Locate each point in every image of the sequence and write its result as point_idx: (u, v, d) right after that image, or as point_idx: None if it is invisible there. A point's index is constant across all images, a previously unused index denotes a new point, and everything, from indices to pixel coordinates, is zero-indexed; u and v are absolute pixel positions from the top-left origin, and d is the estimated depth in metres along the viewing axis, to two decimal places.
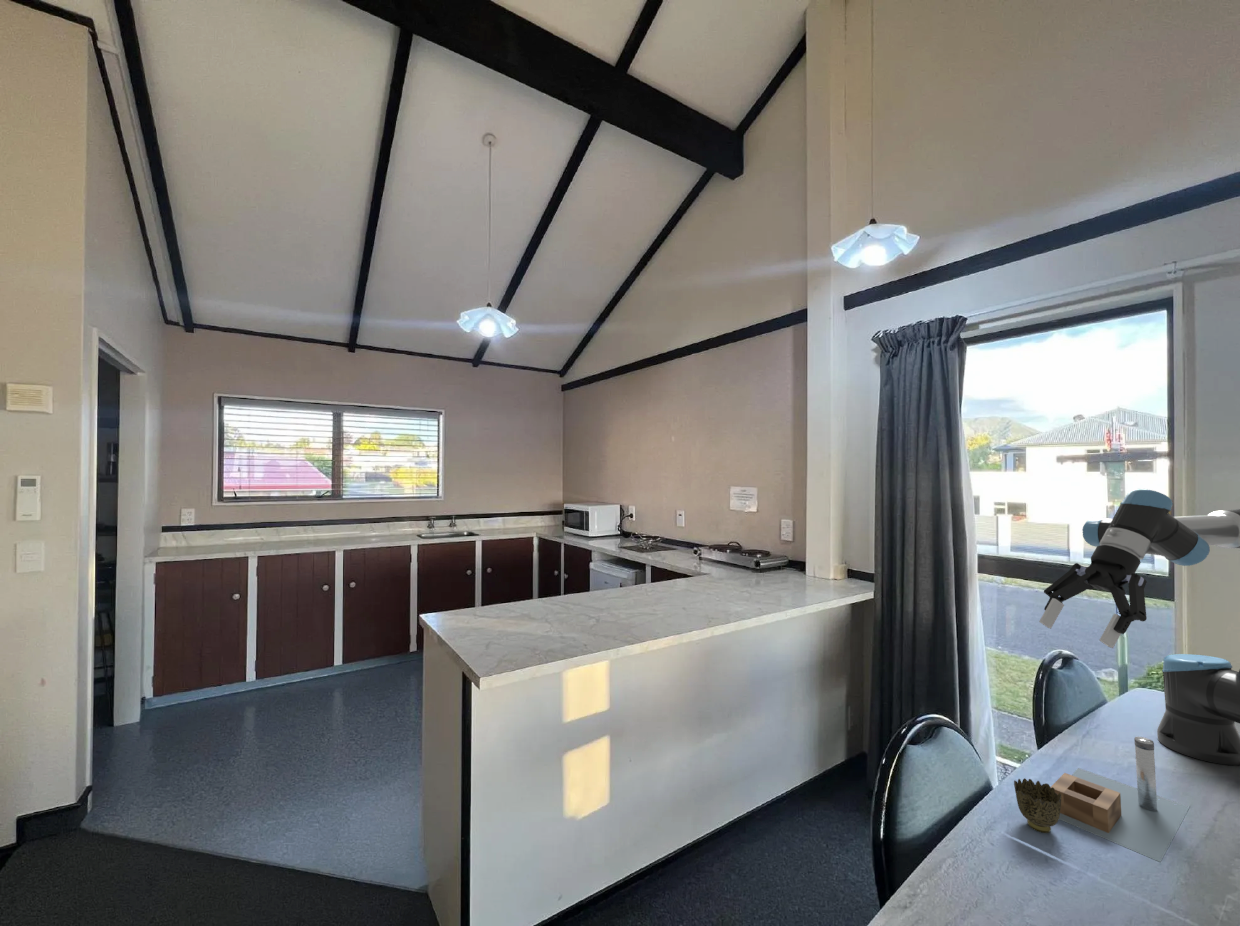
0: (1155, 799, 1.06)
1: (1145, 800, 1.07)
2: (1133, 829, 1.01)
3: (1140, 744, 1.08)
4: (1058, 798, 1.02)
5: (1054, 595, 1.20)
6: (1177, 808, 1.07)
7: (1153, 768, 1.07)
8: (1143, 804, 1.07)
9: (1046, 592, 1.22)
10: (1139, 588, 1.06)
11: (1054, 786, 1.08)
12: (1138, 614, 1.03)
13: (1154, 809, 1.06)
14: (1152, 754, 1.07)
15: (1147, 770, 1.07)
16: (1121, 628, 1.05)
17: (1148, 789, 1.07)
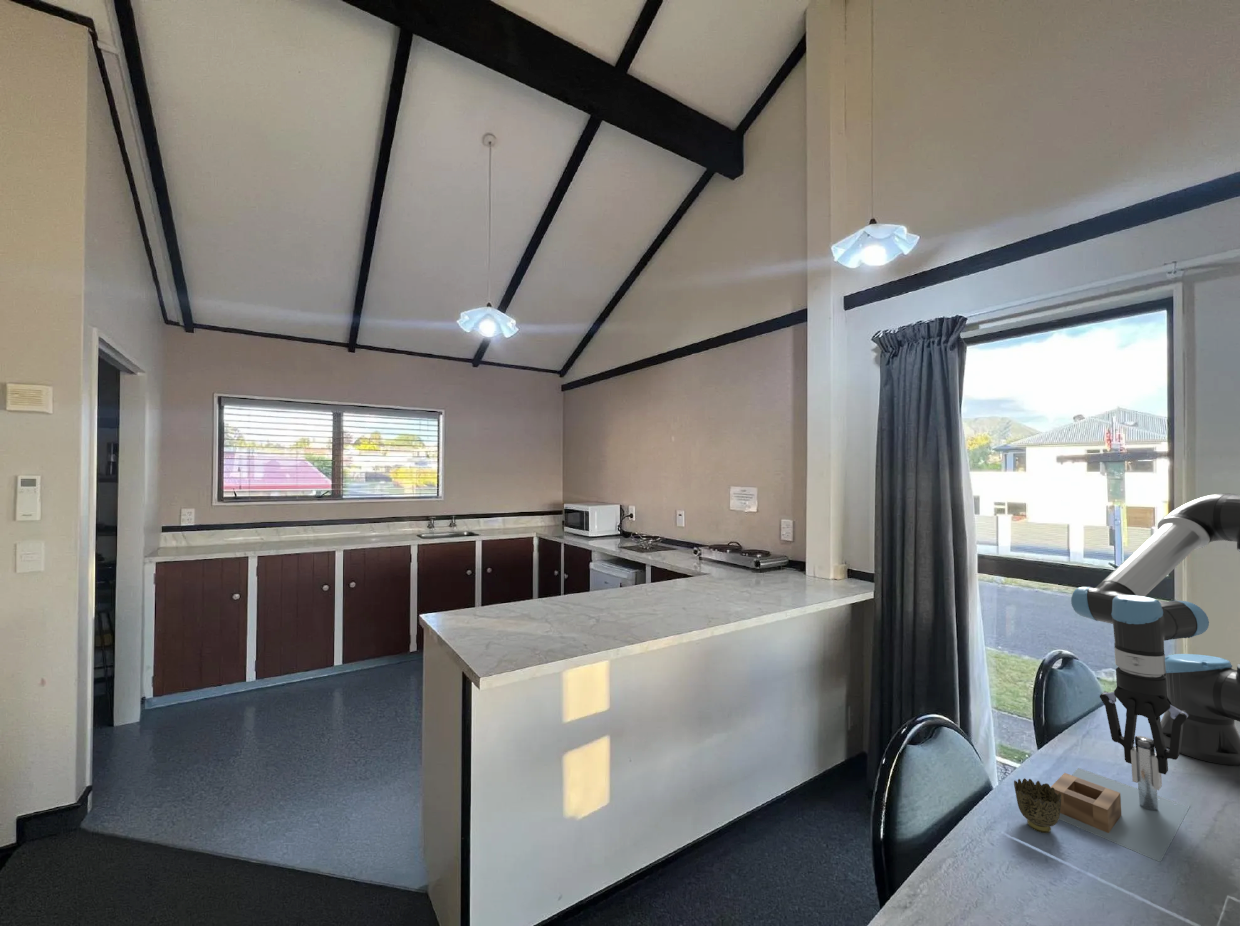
0: (1156, 798, 1.07)
1: (1146, 799, 1.07)
2: (1133, 829, 1.01)
3: (1141, 743, 1.08)
4: (1058, 798, 1.02)
5: (1129, 744, 1.09)
6: (1177, 808, 1.07)
7: None
8: (1143, 803, 1.07)
9: (1117, 740, 1.11)
10: (1181, 726, 1.04)
11: (1054, 786, 1.08)
12: None
13: (1155, 808, 1.06)
14: (1153, 753, 1.07)
15: (1148, 769, 1.07)
16: (1166, 771, 1.05)
17: (1149, 788, 1.07)
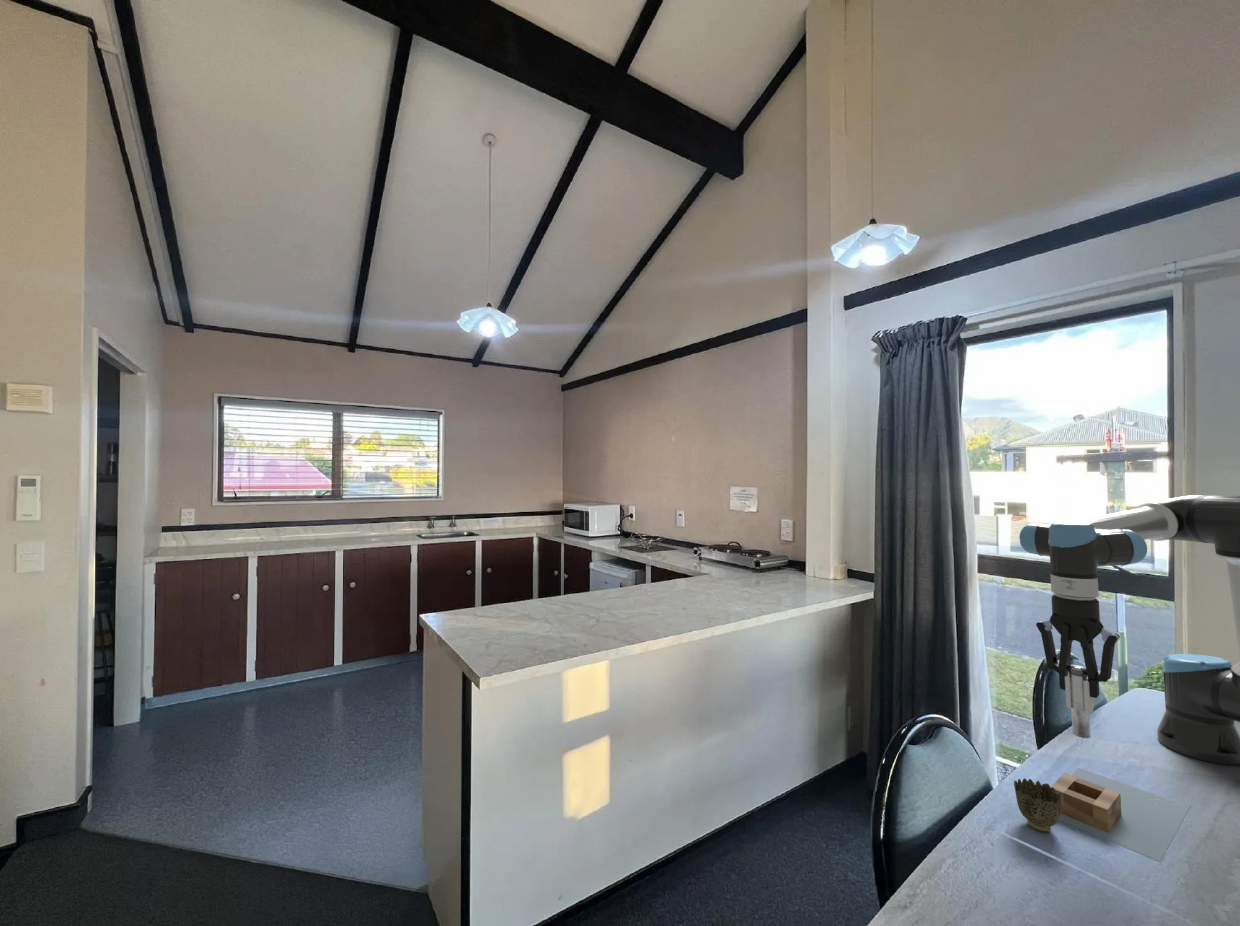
0: (1088, 726, 1.06)
1: (1079, 727, 1.06)
2: (1133, 829, 1.01)
3: (1073, 671, 1.07)
4: (1058, 798, 1.02)
5: (1063, 670, 1.09)
6: (1177, 808, 1.07)
7: None
8: (1076, 731, 1.07)
9: (1052, 667, 1.10)
10: (1112, 648, 1.03)
11: (1054, 786, 1.08)
12: (1107, 680, 1.03)
13: (1087, 736, 1.06)
14: None
15: (1080, 697, 1.06)
16: (1097, 694, 1.05)
17: (1081, 716, 1.06)
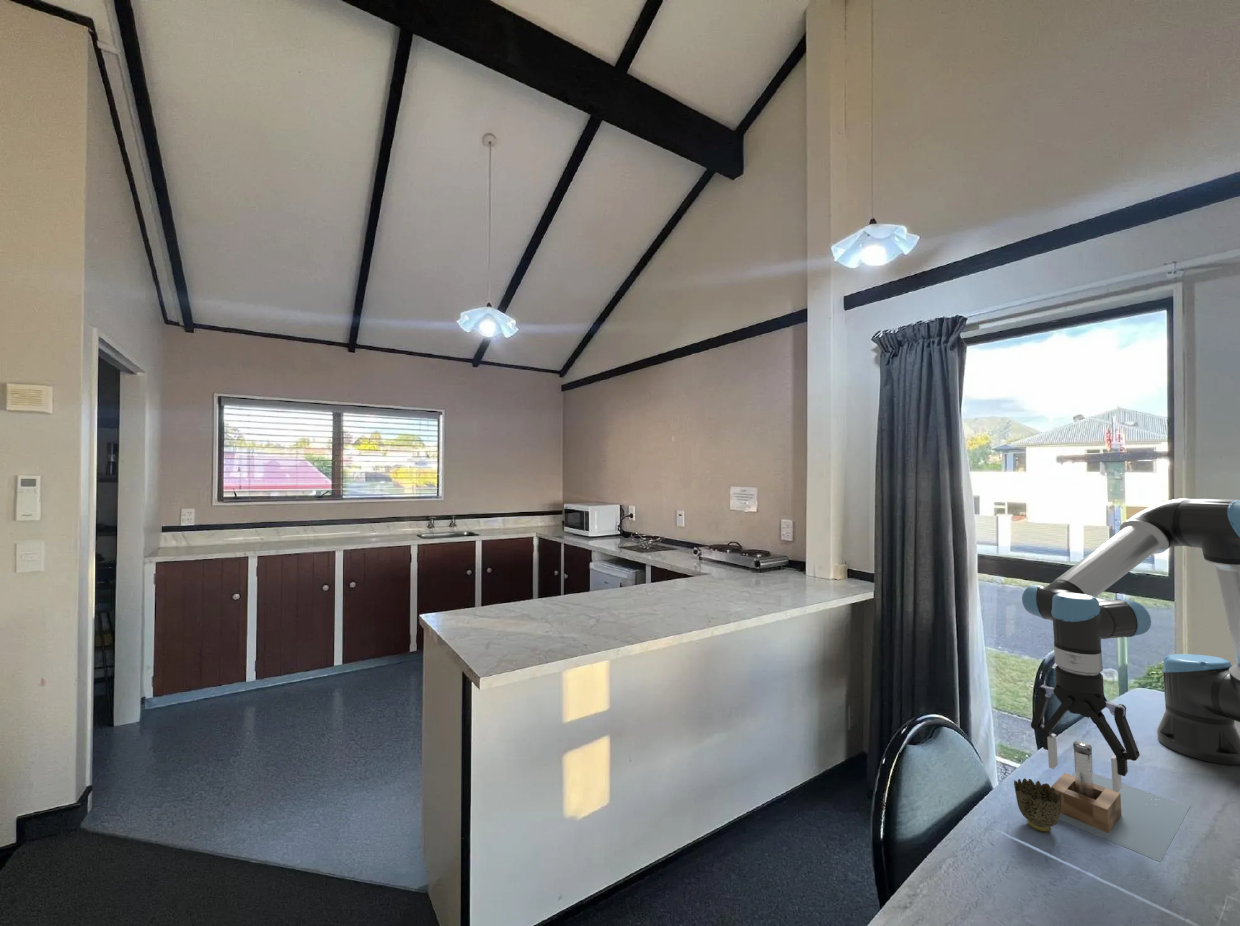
0: None
1: None
2: (1133, 829, 1.01)
3: (1078, 749, 1.07)
4: (1058, 798, 1.02)
5: (1047, 732, 1.11)
6: (1177, 808, 1.07)
7: (1091, 773, 1.06)
8: None
9: (1035, 728, 1.13)
10: (1125, 721, 1.02)
11: (1054, 786, 1.08)
12: (1136, 758, 1.00)
13: None
14: (1090, 759, 1.06)
15: (1085, 775, 1.06)
16: (1126, 772, 1.01)
17: (1086, 794, 1.06)
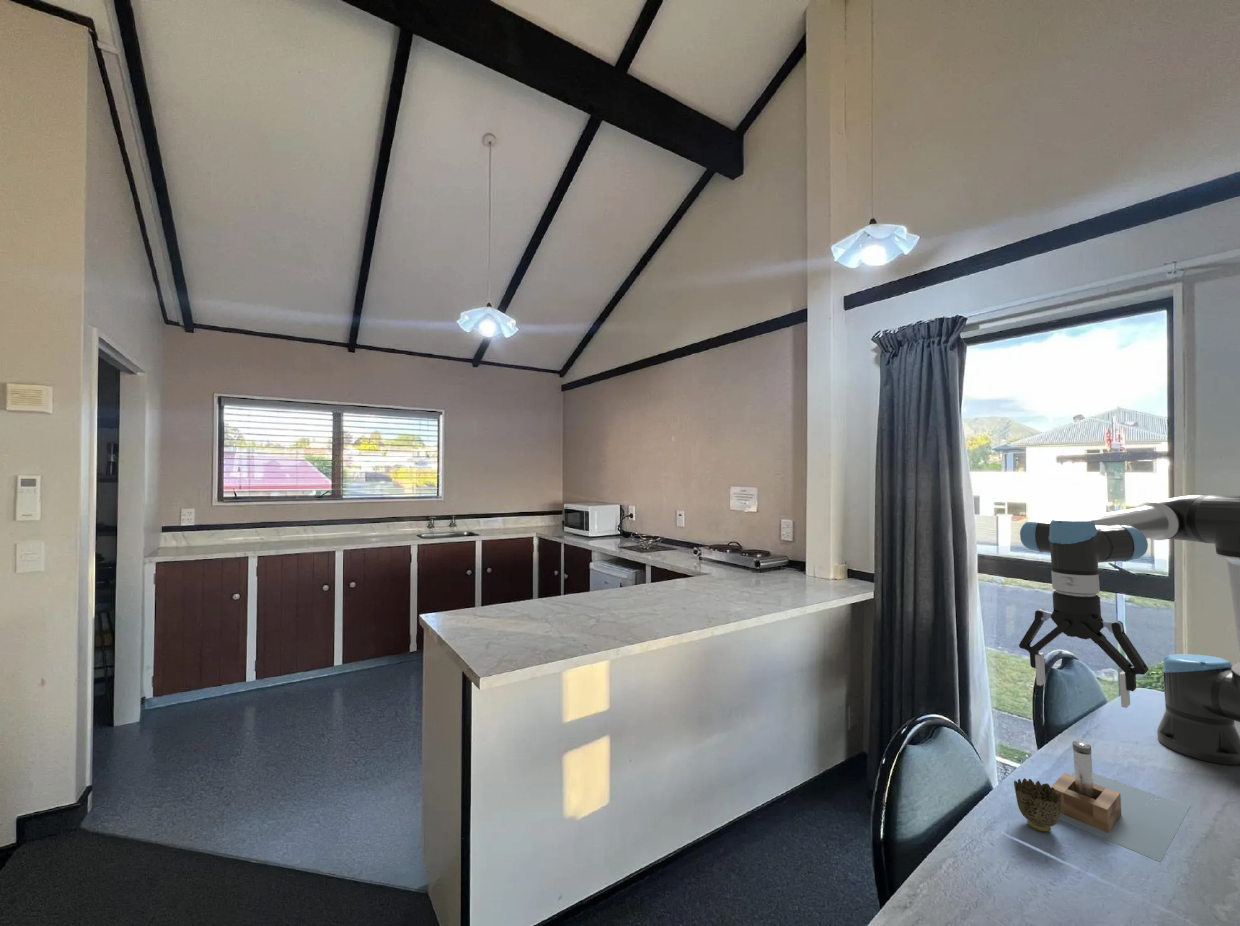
0: None
1: None
2: (1133, 829, 1.01)
3: (1077, 748, 1.07)
4: (1058, 798, 1.02)
5: (1035, 651, 1.13)
6: (1177, 808, 1.07)
7: (1090, 772, 1.06)
8: None
9: (1023, 647, 1.15)
10: (1125, 636, 1.02)
11: (1054, 786, 1.08)
12: (1145, 672, 0.99)
13: None
14: (1089, 758, 1.06)
15: (1084, 774, 1.06)
16: (1134, 688, 1.00)
17: (1085, 794, 1.06)
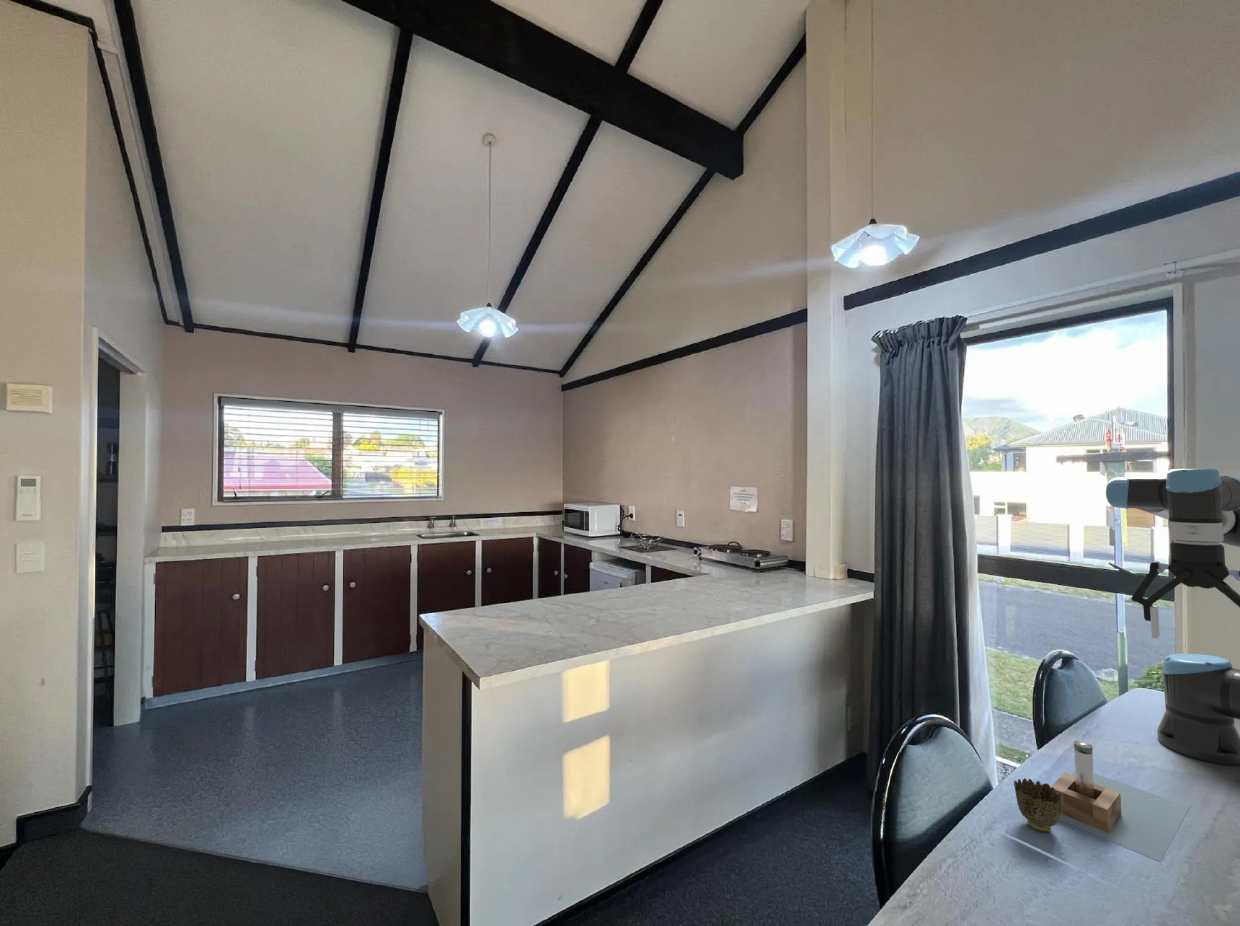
0: None
1: None
2: (1133, 829, 1.01)
3: (1079, 748, 1.07)
4: (1058, 798, 1.02)
5: (1149, 603, 1.12)
6: (1177, 808, 1.07)
7: (1091, 772, 1.06)
8: None
9: (1136, 600, 1.14)
10: None
11: (1054, 786, 1.08)
12: None
13: None
14: (1090, 758, 1.06)
15: (1085, 774, 1.06)
16: None
17: (1086, 793, 1.06)
